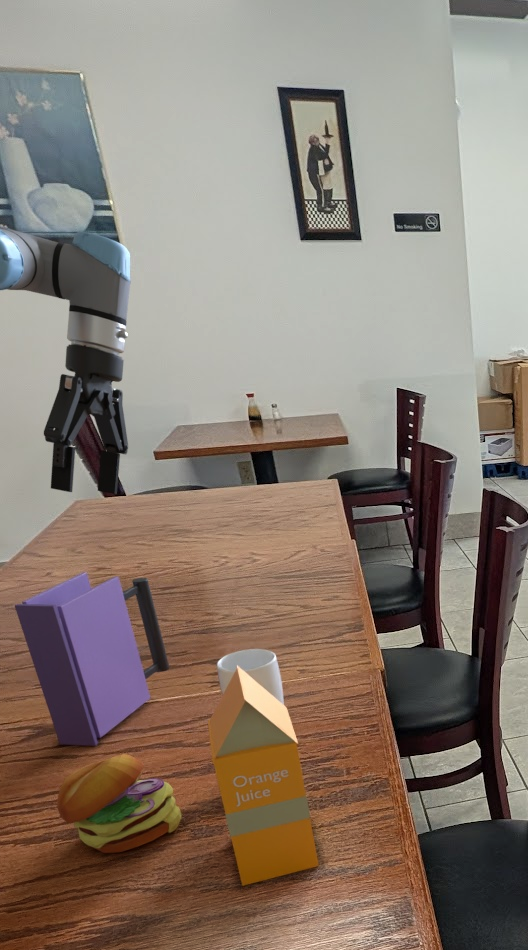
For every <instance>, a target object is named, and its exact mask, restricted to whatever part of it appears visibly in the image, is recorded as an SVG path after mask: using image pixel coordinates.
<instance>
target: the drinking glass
mask: <svg viewBox="0 0 528 950" xmlns="http://www.w3.org/2000/svg"><path fill="white" fill-rule="evenodd" d="M237 665H238V666H239V667H240V668H241V669H242V670H243V671H245V672H246V673H247V674H248V675H249V676H250V677H252V678H253V679H254V680H255V681H256V682H257V683H259V684H260V685H261V686H262V687H263V688H264V689H266V690H267V691H268V692H269V693H270V694H271V695H273V696H274V697H275V698H276V699H277V700H278V701H280V702H281V703H282V704H283V705H284V706H285V698H284V689H283V681H282V675H281V671H280V666H279V662H278V659H277V655H276V653H275V652H273V651H271V650H268V649H263V648H251V649H249V648H248V649H243V650H238V651H234V652H231V653H228V654H226V655H224V656H223V657H221V658H220V659H218V660H217V662H216V670H217V676H218V677H217V678H218V682H219V688H220V691H221V697H222V696H223V694H224V692H225V690H226V688H227V686H228V684H229V682H230V680H231V678H232V677H233V675H234V673H235V671H236V669H237Z"/></svg>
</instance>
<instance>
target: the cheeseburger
mask: <svg viewBox="0 0 528 950" xmlns="http://www.w3.org/2000/svg"><path fill="white" fill-rule="evenodd" d="M144 768H145V765H144V763H143V762H142V761H141V760H140V759H138V758H136V757H135V756H133V755H130V754H127V753H121V754H118V755H114V756H112V757H108V758H105V759H102V760H99V761H95V762H93V763H90V764H87V765H85V766H83V767H80V768H79V769H77V770H74V771H73V772H72V773H70V774H69V775H68V776H67V777H66V778H65V779H64V780H63V782H62V784H61V786H60V787H59V789H58V795H57V801H56V808H57V811H58V813H59V817H60V818H61V820H62V821H64V822H66V823H71V824H72V823H73V825H74V828H75V829H77V831H78V837H79V839H80V841H82V842H83V843H84V844H85V845H87V846H89V847H91V848H93V849H95V850H96V851H99V852H101V853H103V854H111V853H112V854H113V853H122V852H126V851H128V850H132V849H135V848H138V847H140V846H143V845H145V844H148V843H150V842H153V841H154V840H156V839H158V838H160V837H162V836H164V835H165V834H167V833H168V834H170V833H173V832H174V831H175V830H177V829H178V827H179V825H180V823H181V820H182V817H183V814H182V811H181V809H180V807H179V806H178V804H177V803H176V798H175V797H174V795H173V793H174V789H173V787H172V786H171V784H170V783H168V782H167V781H164V780H163V779H162V778H148V779H140V778H141V776H142V774H143V770H144ZM139 779H140V780H139Z"/></svg>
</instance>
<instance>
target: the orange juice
mask: <svg viewBox="0 0 528 950" xmlns="http://www.w3.org/2000/svg"><path fill="white" fill-rule="evenodd" d="M207 722H208V723H207V728H208V736H209V746H210V753H211V761H212V763H213V766H214V773H215V777H216V783H218V788H219V792H220V796H221V801H222V805H223V809H224V816H225V819H226V824H227V828H228V832H229V837H230V840H231V843H232V847H233V852H234V856H235V860H236V864H237V869H238V873H239V877H240V881H241V886H242V887H244V886H248V885H250V884H254V883H255V884H256V883H259V882H262V881H266V880H270V879H273V878H278V877H281V876H286V875H289V874H293V873H296V872H297V873H298V872H300V871H304V870H305V871H306V870H309V869H312V868H316V867H319V865H320V864H319V859H318V853H317V849H316V842H315V837H314V831H313V828H312V822H311V813H310V809H309V802H308V796H307V793H306V787H305V782H304V775H303V774H304V773H303V770H302V765H301V759H300V757H301V756H300V752H299V748H298V744H299V742H298V739H297V736H296V735H297V734H296V733H295V729H294V726H293V723H292V719H291V717H290V714H289V711H288V708H287V706H286V705H285V704H284V705H283V704H282V703H281V702H280V701H278V700H277V699H276V698H275V697H274V696H273V695H271V694H270V693H269V692H268V691H267V690H266V689H264V688H263V687H262V686H261V685H260V684H259V683H257V682H256V681H255V680H254V679H253V678H252V677H250V676H249V675H248V674H247V673H246V672H245V671H243V670H242V669H241V668H240V667H239V666H238V665H237V669H236V671H235V673H234V675H233V677H232V678H231V680H230V682H229V684H228V686H227V688H226V690H225V692H224V694H223V696H222V695H221V698H220V699H219V701H218V703H217V705H216V707H215V709H214V711H213V713H212V715H211V716H210V719H209V720H207Z"/></svg>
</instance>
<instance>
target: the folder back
mask: <svg viewBox="0 0 528 950" xmlns="http://www.w3.org/2000/svg"><path fill="white" fill-rule="evenodd" d="M90 589H92V586H91V582H90V579H89V576H88V573H87V572H84V571H83V572H81V573H79V574H76V575H75V576H73V577H70V578H69V579H66V580H64V581H62V582H60V583H58V584H56V585H54V586H52V587H50V588H48V589H46V590H43V591H41V592H40V593H37V594H35V595H33V596H31V597H29V598H27V599H25V600H22V603H17V604H15V605H14V608H15V611H16V615H17V618H18V621H19V624H20V626H21V631H22V633H23V636H24V640H25V642H26V646H27V648H28V651H29V654H30V657H31V660H32V664H33V666H34V670H35V672H36V676H37V679H38V683H39V685H40V687H41V691H42V694H43V697H44V700H45V703H46V706H47V708H48V712H49V715H50V718H51V722H52V725H53V728H54V731H55V734H56V737H57V740H58V742H59V745H68V746H89V747H90V746H92V747H96V746H98V744H99V741H98V738H97V737H96V734H95V730H94V727H93V724H92V721H91V717H90V714H89V711H88V707H87V704H86V701H85V698H84V694H83V691H82V688H81V684H80V681H79V678H78V674H77V671H76V668H75V665H74V661H73V658H72V655H71V651H70V648H69V645H68V641H67V638H66V635H65V632H64V628H63V625H62V622H61V618H60V615H59V612H58V609H57V606H59V605H61V604H63V603H65V602H67V601H69V600H70V599H72V598H74V597H76V596H78V595H80V594H82V593H84V592H86V591H88V590H90Z"/></svg>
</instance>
